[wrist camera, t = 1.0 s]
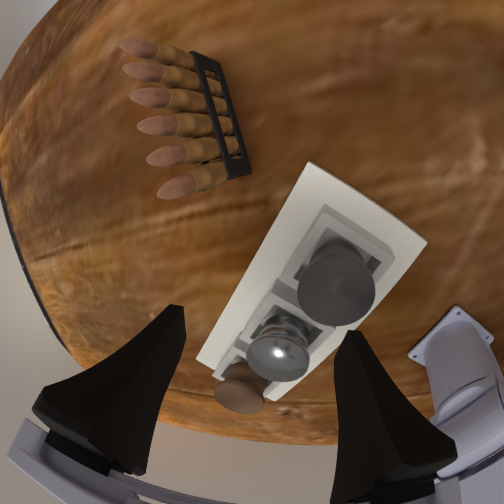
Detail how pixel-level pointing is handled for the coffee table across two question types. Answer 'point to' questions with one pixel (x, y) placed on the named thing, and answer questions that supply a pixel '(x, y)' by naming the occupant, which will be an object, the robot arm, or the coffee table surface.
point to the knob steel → (280, 349)
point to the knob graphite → (336, 286)
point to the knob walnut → (241, 389)
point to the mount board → (297, 259)
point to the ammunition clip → (188, 116)
